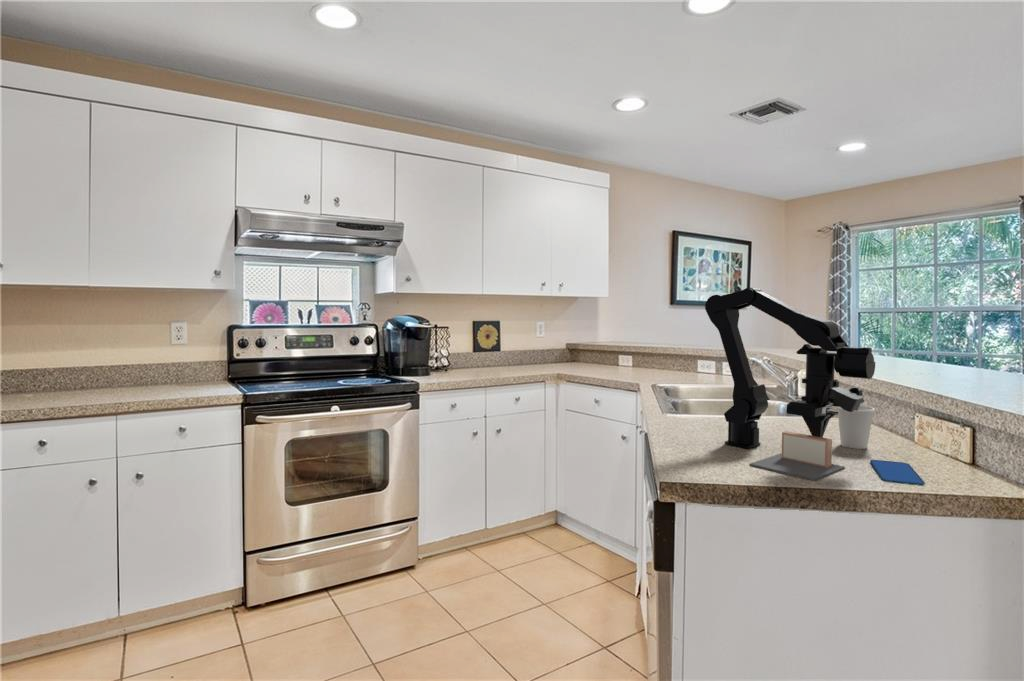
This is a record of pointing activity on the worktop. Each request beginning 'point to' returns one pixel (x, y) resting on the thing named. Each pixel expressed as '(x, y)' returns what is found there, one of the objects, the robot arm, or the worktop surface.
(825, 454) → the block
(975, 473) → the worktop surface
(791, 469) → the mat
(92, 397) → the worktop surface
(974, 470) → the worktop surface
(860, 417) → the dixie cup
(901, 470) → the smartphone
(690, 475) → the worktop surface
